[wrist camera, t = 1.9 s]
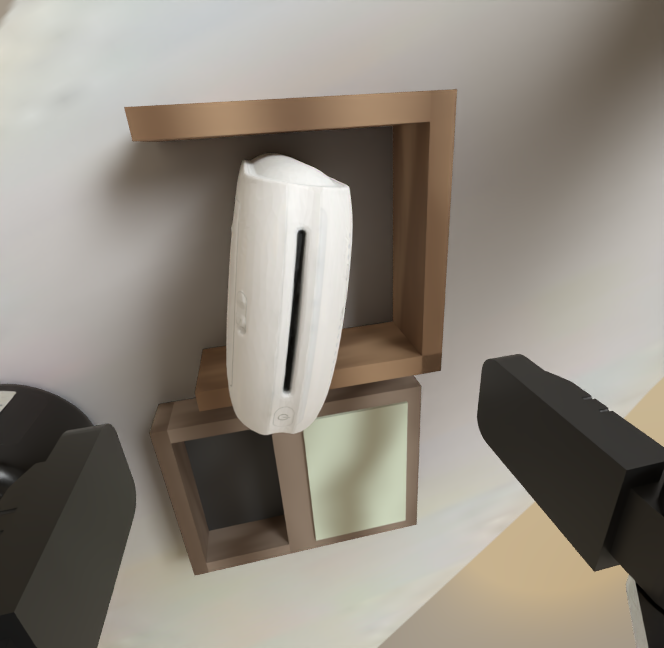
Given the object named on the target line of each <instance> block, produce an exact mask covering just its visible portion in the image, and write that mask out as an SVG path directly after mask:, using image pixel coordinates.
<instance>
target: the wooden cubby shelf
mask: <svg viewBox="0 0 664 648" xmlns="http://www.w3.org/2000/svg"><path fill="white" fill-rule="evenodd" d="M456 98H457V89H453V90H435V91H416V92H397V93H379V94H360V95H342V96H323V97H305V98H286V99H267V100H249V101H230V102H212V103H193V104H175V105H156V106H138V107H124V108H125V112H126V116H127V120H128V124H129V128H130V133H131V137H132V141H143V142H160V141H175V140H190V139H204V138H219V137H234V136H249V135H264V134H279V133H294V132H309V131H323V130H338V129H353V128H368V127H383V126H393V321H392V322H385V323H379V324H372V325H365V326H358V327H351V328H344V329H342V332H341V338H340V344H339V349H338V354H337V360H336V364H335V368H334V373H333V376H332V380H331V384H330V387H329V389H335V388H341V387H347V386H353V385H359V384H365V383H371V382H377V381H383V380H388V379H394V378H400V377H406V376H412V375H418V374H424V373H430V372H436V371H441V358H442V340H443V323H444V306H445V288H446V271H447V254H448V237H449V219H450V202H451V185H452V167H453V150H454V133H455V116H456ZM195 396H196V400H197V404H198V408H199V411H205V410H211V409H217V408H223V407H229V406H233V405H232V402H231V398H230V393H229V386H228V378H227V366H226V346H221V347H214V348H208V349H203V352H202V357H201V362H200V368H199V373H198V378H197V384H196V389H195Z"/></svg>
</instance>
